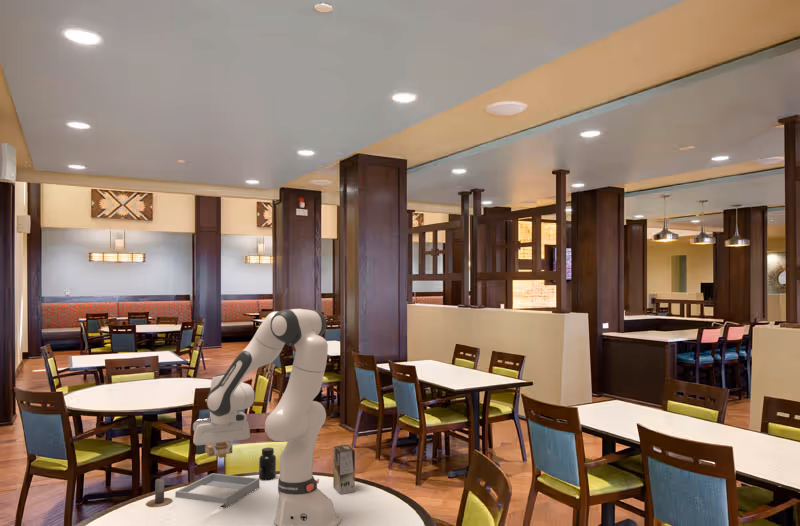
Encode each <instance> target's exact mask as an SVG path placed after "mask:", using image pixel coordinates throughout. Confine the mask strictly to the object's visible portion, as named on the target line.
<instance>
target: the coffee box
mask: <svg viewBox="0 0 800 526" xmlns="http://www.w3.org/2000/svg"><path fill="white" fill-rule="evenodd" d="M355 456H356V451H355V449H354V448H352V447H351V446H349V444H344V445H337V446H333V456H332V457H333V460H332V461H333V465H332V467H333V477H332V478H333V482H332V483H333V488H334V489H335V490H336V491H337V492H338V494H340V495H344V494H351V493H355V491H356V489H355V488H356V485H355V484H356V483H355V482H356V481H355V480H356V476H355V475H356V473H355V472H356V467H355V466H356V465H355V464H356V461H355V460H356V457H355Z"/></svg>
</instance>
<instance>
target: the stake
mask: <svg viewBox="0 0 800 526" xmlns="http://www.w3.org/2000/svg"><path fill="white" fill-rule="evenodd" d="M154 488H155V489H154V499H150V500H148V501H147V502H146V503H145V506H147V507H148V508H162V507H165V506H168V505H170V504H172V503H173V501H174V500H173V499H172V498H169V497H165V478H157V479H155V483H154Z"/></svg>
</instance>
